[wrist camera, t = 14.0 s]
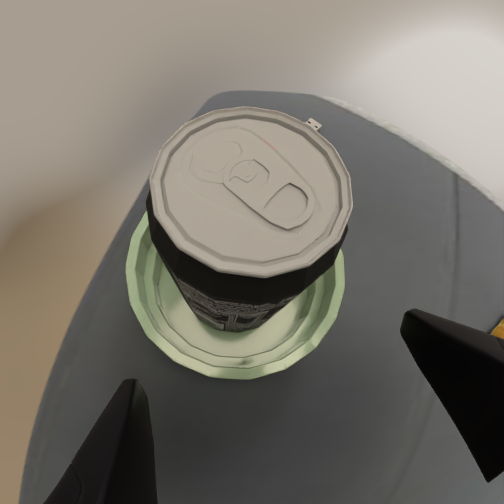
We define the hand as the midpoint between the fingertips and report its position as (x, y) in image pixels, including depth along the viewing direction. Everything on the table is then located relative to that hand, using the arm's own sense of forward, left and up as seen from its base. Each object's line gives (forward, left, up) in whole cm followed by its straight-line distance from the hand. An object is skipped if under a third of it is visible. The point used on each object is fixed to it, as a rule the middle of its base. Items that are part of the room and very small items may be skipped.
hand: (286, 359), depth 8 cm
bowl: (+4, +3, -10) cm, 12 cm away
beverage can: (+4, +3, -10) cm, 11 cm away
